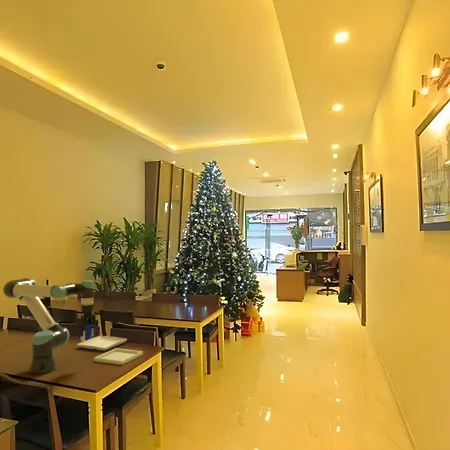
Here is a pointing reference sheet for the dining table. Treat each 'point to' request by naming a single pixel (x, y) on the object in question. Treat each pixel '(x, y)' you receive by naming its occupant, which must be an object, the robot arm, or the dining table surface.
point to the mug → (88, 331)
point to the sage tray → (118, 356)
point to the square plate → (101, 342)
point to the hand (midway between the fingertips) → (87, 339)
